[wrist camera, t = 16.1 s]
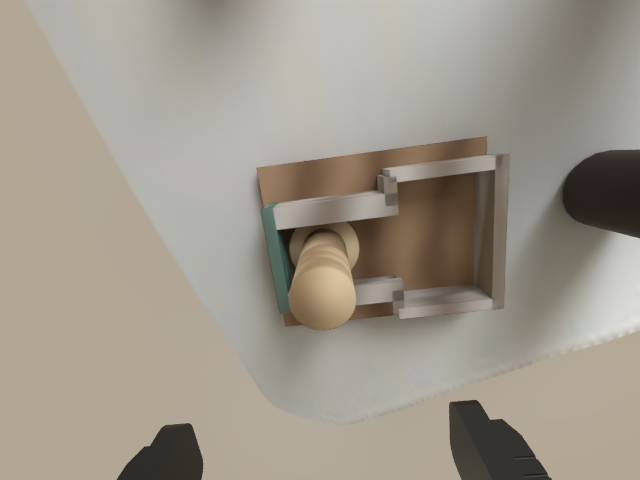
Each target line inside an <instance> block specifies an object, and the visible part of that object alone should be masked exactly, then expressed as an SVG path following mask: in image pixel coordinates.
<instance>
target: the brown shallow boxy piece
mask: <svg viewBox="0 0 640 480" xmlns="http://www.w3.org/2000/svg"><path fill="white" fill-rule="evenodd" d="M257 174H258V179H259V185H260V190H261V195H262V201H263V206H264V208H263V209H261V214H262V220H263V225H264V230H265V236H266V241H267V246H268V252H269V257H270V262H271V268H272V273H273V278H274V284H275V289H276V295H277V300H278V305H279V311H280V314H281V313H283V315H284V321H285V326H294V325H303V324H301V323H300V322H299V321H298V320H297V319H296V318H295V317H294V315H293V314H292V312H291V310H290V307H289V292H290V288H291V285H292V281H293V278H294V274H295V271H296V267H295V266H294V264H293V262H292V260H291V256H290V250H289V248H290V240H291V237H292V235H293V233H294V231H295V229H296V228H297V227H305V226H313V225H321V224H329V223H337V222H345V221H347V222H348V223H349V224H350V225H351V226H352V228H353V229H354V231H355V233H356V235H357V238H358V242H359V255H358V259H357V262H356V264H355V265H354V267H353V268H352V270H351V274H352V279H353V284H354V289H355V294H356V306H355V309H354V312H353V314H352V315H351V317H350V318H349V319H348V320H351V319H361V318H370V317H380V316H390V315H398V316H399V319H406V318H416V317H425V316H435V315H444V314H454V313H464V312H473V311H483V310H493V309H502V308H504V288H505V259H506V231H507V203H508V174H509V154H494V155H487V136H486V137H479V138H472V139H465V140H457V141H450V142H443V143H435V144H428V145H421V146H413V147H406V148H399V149H392V150H384V151H377V152H370V153H362V154H355V155H348V156H340V157H333V158H326V159H319V160H311V161H304V162H297V163H289V164H282V165H275V166H267V167H260V168H257Z"/></svg>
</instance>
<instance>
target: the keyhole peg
mask: <svg viewBox="0 0 640 480" xmlns="http://www.w3.org/2000/svg"><path fill="white" fill-rule="evenodd" d="M289 250H290V256H291V260H292V262H293V264H294V266H295V267H296V271H295V274H294V278H293V281H292V285H291V288H290V292H289V307H290V310H291V312H292V314H293V315H294V317H295V318H296V319H297V320H298V321H299V322H300V323H301V324H303V325H305V326H306V327H309V328H311V329H315V330H330V329H334V328H337V327H339V326H341V325H342V324H344V323H345V322H346V321H347V320H348V319H349V318H350V317H351V315H352V314H353V312H354V309H355V306H356V294H355V289H354V284H353V279H352V274H351V270H352V268H353V267H354V265H355V264H356V262H357V259H358V255H359V242H358V238H357V235H356V233H355V231H354V229H353V228H352V226H351V225H350V224H349V223H348V222H347V221H345V222H337V223H329V224H321V225H313V226H305V227H297V228H296V229H295V231H294V233H293V235H292V237H291V240H290V248H289Z"/></svg>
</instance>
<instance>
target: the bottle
mask: <svg viewBox="0 0 640 480" xmlns="http://www.w3.org/2000/svg"><path fill="white" fill-rule="evenodd" d="M563 202H564V204H565V207H566V210H567V212H568V213H569V214H570V215H571V216H572V217H573V218H574V219H575V220H577V221H579V222H581V223H583V224H586V225H590V226H594V227H598V228H602V229H606V230H610V231H613V232H617V233H621V234H625V235H629V236H633V237H637V238H640V150H610V151H605V152H601V153H597V154H594V155H593V156H591V157H589V158H587V159H585V160H583V161H582V162H581V163H580V164H579V165H578V166H577V167H576V168H574V170H573V171H572V173H571V174H570V176H569V177H568V179H567V182H566V185H565V188H564V198H563Z"/></svg>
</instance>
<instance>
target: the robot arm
mask: <svg viewBox="0 0 640 480" xmlns="http://www.w3.org/2000/svg"><path fill="white" fill-rule="evenodd" d="M449 420H450V445H451V450H452V455H453V458H454V462H455V464H456V467H457V470H458V472H459V475H460V477H461V479H462V480H552V479H551V478H549V477H548V474H547V472H546V470H545V469H544V467H543V466H542V465H541V463H540V462H539V461H538V460H537V459H536V457H535V454H534V453H533V451H532V450H531V449H530V447H529V446H528V444H527V443H526V441H525V440H524V438H523V437H522V436H521V435H520V434H519V433H518V432H517V431H516V430H514V429H513V428H512V427H511V426H510V425H508V424H507V423H506V422H505V421H504V420H503V419H497V420H490V419H489V418H488V416H487V414H486V412H485V411H484V409H483V407H482V406H481V404H480V403H479V402H478V401H477V400H471V401H470V400H469V401H457V402H450V404H449ZM202 473H203V459H202V455H201V452H200V449H199V446H198V443H197V439H196V436H195V433H194V430H193V427H192V425H191V424H189V423H186V424H174V425H165V426H163V427H162V428H161V430H160V431H159V432H158V434H157V436H156V437H155V439H154V440H153V442H152V444H151V445H150V446H147V447H144V448H143V449H142V450H141V451H140V452H139V453H138V454H137V455H136V456H135V457H134V458H133V459H132V460H131V461H130V462H129V463H128V464H127V465H126V466H125V468H124V469H123V471H122V472H121V474H120V475H119V477H118V479H117V480H201V478H202Z"/></svg>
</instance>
